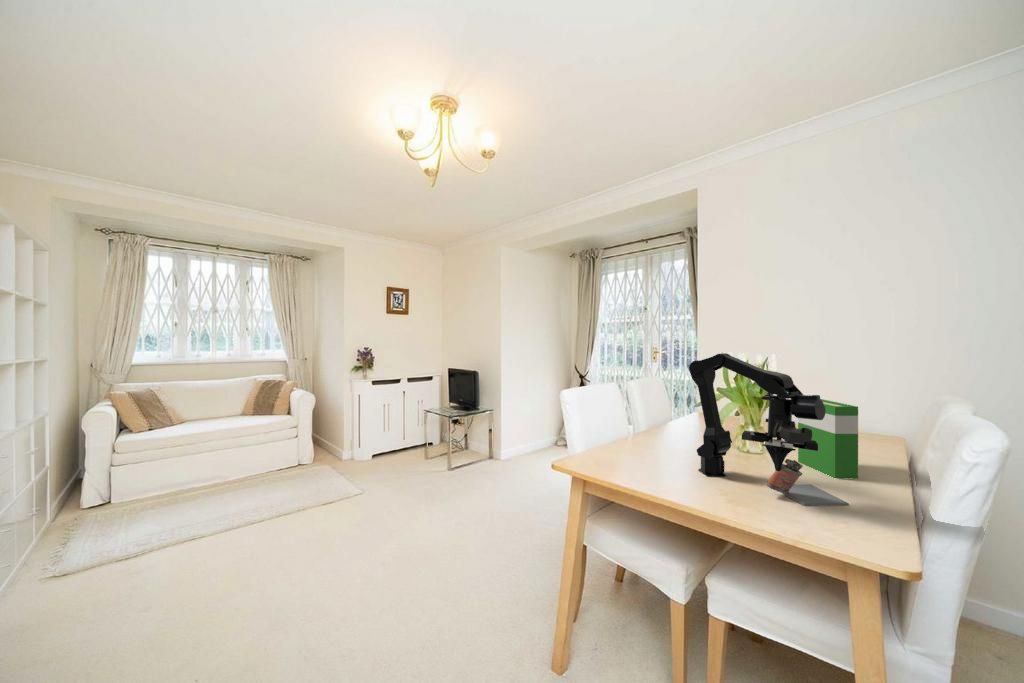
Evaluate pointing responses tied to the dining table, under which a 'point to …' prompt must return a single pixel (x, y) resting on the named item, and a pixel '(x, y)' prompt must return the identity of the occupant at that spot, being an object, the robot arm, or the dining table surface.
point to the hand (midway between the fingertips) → (777, 470)
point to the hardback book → (833, 441)
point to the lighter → (785, 476)
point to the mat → (813, 495)
